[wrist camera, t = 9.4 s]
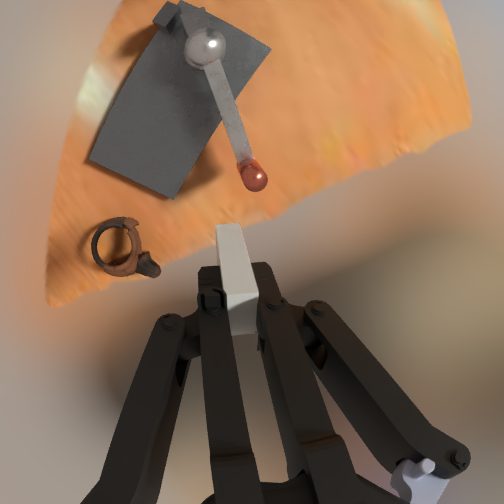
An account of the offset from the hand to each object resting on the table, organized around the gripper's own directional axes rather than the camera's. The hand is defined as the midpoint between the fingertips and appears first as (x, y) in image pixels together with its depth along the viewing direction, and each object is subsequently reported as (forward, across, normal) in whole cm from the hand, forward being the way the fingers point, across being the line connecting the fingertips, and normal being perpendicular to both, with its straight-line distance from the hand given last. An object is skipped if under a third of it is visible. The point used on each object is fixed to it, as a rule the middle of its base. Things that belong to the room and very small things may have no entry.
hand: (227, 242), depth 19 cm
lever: (+22, +1, +9) cm, 24 cm away
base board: (+25, -5, +8) cm, 27 cm away
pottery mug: (+25, -14, -14) cm, 32 cm away
